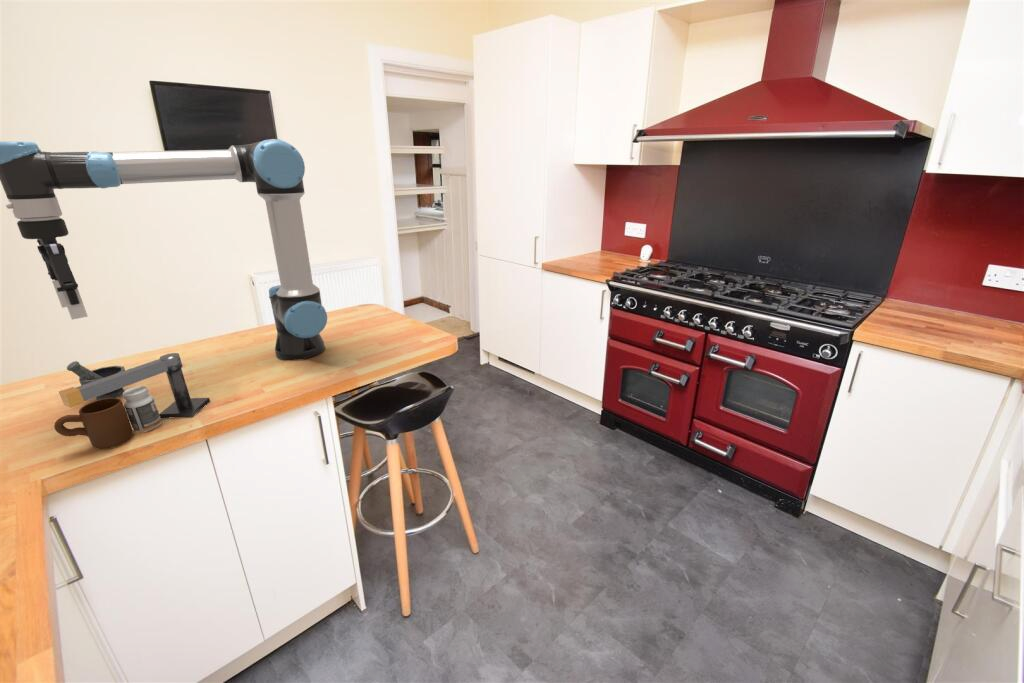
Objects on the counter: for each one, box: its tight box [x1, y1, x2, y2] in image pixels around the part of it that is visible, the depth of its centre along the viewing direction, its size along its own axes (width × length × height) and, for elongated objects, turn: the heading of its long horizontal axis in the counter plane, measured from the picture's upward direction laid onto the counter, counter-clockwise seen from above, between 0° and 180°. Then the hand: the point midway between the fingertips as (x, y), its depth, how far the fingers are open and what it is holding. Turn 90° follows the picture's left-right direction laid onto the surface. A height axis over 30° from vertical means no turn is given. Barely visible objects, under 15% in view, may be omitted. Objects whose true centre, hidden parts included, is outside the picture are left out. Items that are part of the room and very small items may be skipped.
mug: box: [53, 397, 134, 450], centre depth 104 cm, size 12×8×9 cm, turn 133°
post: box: [159, 368, 211, 419], centre depth 118 cm, size 8×8×12 cm
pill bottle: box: [122, 385, 162, 433], centre depth 111 cm, size 6×6×10 cm
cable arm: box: [58, 352, 183, 409], centre depth 107 cm, size 23×4×3 cm, turn 153°
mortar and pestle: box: [66, 360, 126, 401], centre depth 125 cm, size 11×9×12 cm
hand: (74, 311), depth 109 cm, fingers open, 13 cm apart
